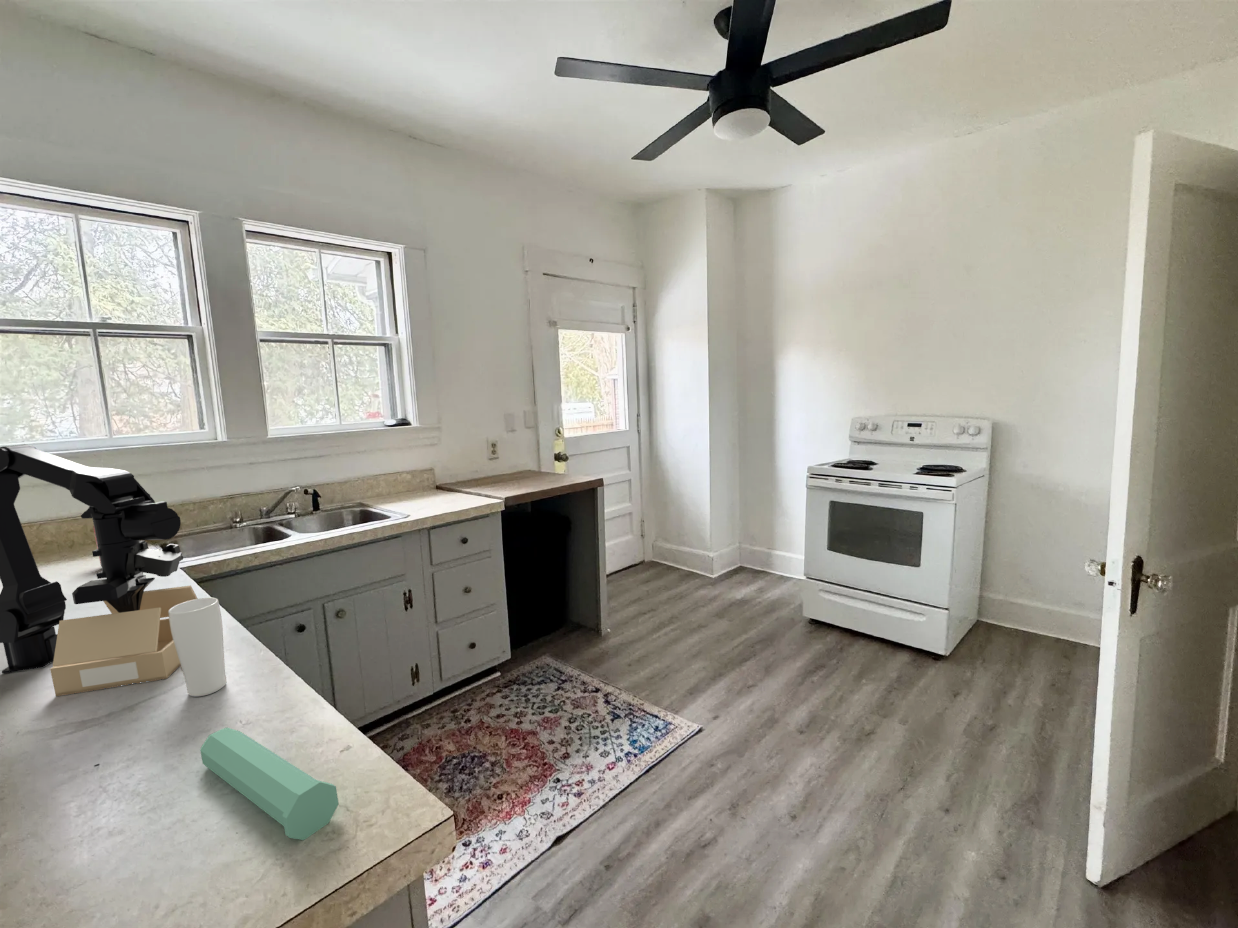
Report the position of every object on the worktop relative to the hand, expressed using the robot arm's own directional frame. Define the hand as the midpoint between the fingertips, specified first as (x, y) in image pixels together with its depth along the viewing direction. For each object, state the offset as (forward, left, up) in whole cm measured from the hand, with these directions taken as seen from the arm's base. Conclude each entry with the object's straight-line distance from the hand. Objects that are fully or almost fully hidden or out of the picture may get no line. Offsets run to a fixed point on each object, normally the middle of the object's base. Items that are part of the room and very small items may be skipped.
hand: (133, 621), depth 103 cm
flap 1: (0, -7, 0) cm, 7 cm away
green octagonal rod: (+35, -47, -9) cm, 59 cm away
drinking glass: (+17, -16, -9) cm, 25 cm away
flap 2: (0, +7, 0) cm, 7 cm away
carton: (0, 0, -8) cm, 8 cm away
